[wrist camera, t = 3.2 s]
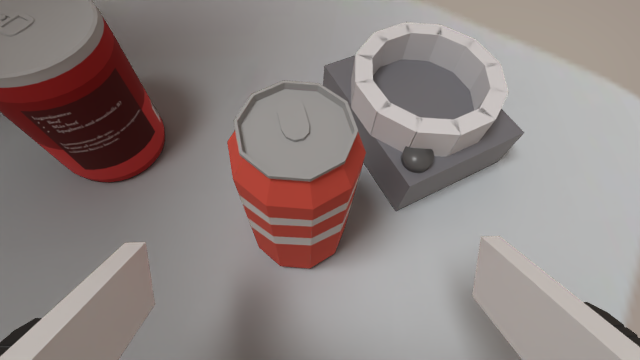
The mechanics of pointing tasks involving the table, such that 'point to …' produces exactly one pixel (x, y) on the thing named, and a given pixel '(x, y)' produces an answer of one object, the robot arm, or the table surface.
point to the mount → (424, 108)
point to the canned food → (75, 89)
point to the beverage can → (296, 169)
